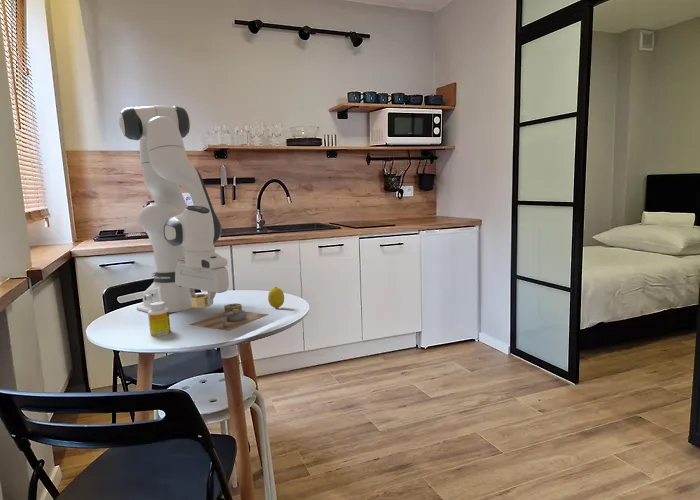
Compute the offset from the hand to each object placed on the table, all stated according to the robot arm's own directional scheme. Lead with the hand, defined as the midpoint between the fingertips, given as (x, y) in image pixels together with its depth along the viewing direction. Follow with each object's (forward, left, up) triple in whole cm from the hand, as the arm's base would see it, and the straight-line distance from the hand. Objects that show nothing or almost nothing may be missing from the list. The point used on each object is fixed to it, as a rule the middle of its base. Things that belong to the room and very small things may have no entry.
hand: (201, 302), depth 143 cm
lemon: (+10, +24, -8) cm, 27 cm away
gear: (0, 0, -1) cm, 1 cm away
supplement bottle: (-4, -13, -8) cm, 15 cm away
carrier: (+6, +5, -7) cm, 11 cm away
